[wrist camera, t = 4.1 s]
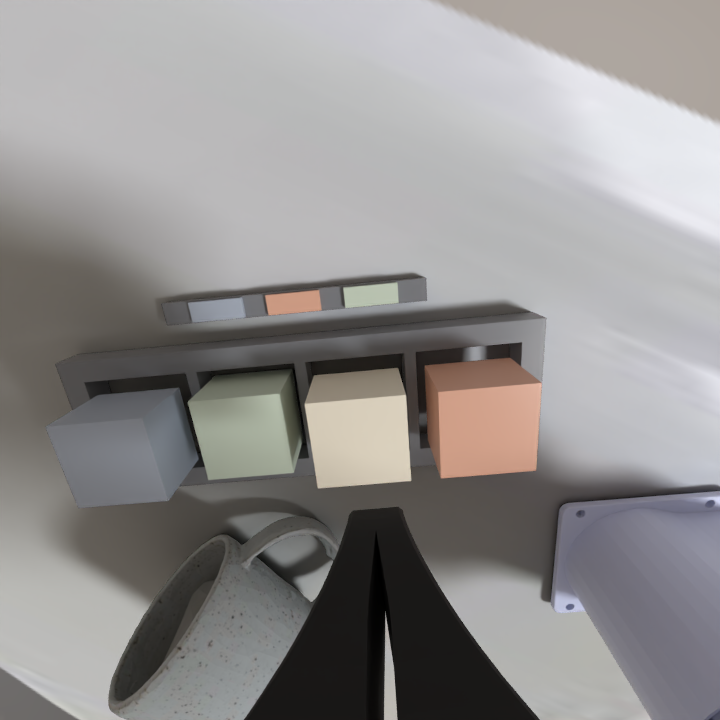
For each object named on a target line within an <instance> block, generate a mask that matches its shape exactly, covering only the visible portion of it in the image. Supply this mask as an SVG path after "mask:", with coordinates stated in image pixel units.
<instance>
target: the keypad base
mask: <svg viewBox="0 0 720 720" xmlns="http://www.w3.org/2000/svg"><path fill="white" fill-rule="evenodd" d="M545 332H546V318H545V317H543V316H540V315H538V314H536V313H533V312H526V313H515V314H505V315H494V316H483V317H473V318H462V319H452V320H441V321H430V322H420V323H409V324H398V325H388V326H377V327H366V328H356V329H345V330H334V331H324V332H313V333H302V334H292V335H281V336H271V337H260V338H249V339H239V340H228V341H217V342H207V343H196V344H185V345H175V346H164V347H153V348H143V349H132V350H121V351H111V352H100V353H90V354H79V355H76V356H73V357H71V358H68V359H66V360H63V361H61V362H59V363H56V364H55V365H56V367H57V370H58V373H59V375H60V378H61V381H62V383H63V386H64V389H65V391H66V394H67V397H68V399H69V402H70V404H71V407H72V410H74V409H76V408H77V407H79V406H81V405H82V404H84V403H86V402H87V401H89V400H91V399H92V398H94V397H95V396H97V395H103V394H111V391H110V388H109V385H108V382H107V380H116V379H127V378H138V377H149V376H160V375H171V374H182V373H186V377H187V381H188V385H189V388H190V392H191V396H192V397H193V396H194V395H195V394H196V393H198V392H199V391H200V390H201V389H202V388H203V387H204V386H205V385H206V384H207V383H208V382H209V381H210V380H211V379H212V376H211V372H210V371H214V370H225V369H236V368H247V367H258V366H269V365H280V364H291V363H294V366H295V372H296V378H297V385H298V391H299V397H300V403H301V410H302V416H303V422H304V428H305V434H306V441H307V444H302V445H301V449H300V452H299V456H298V459H297V463H296V467H295V470H294V473H287V474H275V475H263V476H251V477H239V478H227V479H215V480H208V476H207V472H206V469H205V465H204V461H203V457H202V454H201V453H197V455H198V461H197V462H196V464H195V465H194V466H193V468H192V469H191V470H190V472H189V473H188V475H187V476H186V477H185V479H184V480H183V481H182V483H181V484H180V486H189V485H201V484H213V483H225V482H238V481H250V480H262V479H274V478H286V477H298V476H310V475H316V473H315V467H314V461H313V454H312V448H311V441H310V435H309V429H308V422H307V416H306V410H305V401H306V398H307V395H308V392H309V389H310V386H311V383H312V380H313V377H312V370H311V363H310V362H312V361H323V360H334V359H345V358H356V357H367V356H378V355H389V354H400V353H402V368H403V384H404V390H405V393H406V403H407V420H408V436H409V452H410V467H418V466H430V465H436V462H435V459H434V457H433V454H432V451H431V448H430V445H429V442H428V433H427V434H420V432H419V412H418V392H417V372H416V352H421V351H432V350H443V349H454V348H465V347H476V346H487V345H498V344H509V343H510V348H509V358H511V359H512V360H514V361H515V362H516V363H517V364H519V365H520V366H521V367H522V368H524V369H525V370H526V371H527V372H529V373H530V374H531V375H533V376H534V377H535V378H536V379H538V380H539V381H540V382H541V383H542V377H543V362H544V347H545ZM541 393H542V388H541ZM540 408H541V403H540ZM539 423H540V418H539ZM538 438H539V434H538ZM537 453H538V449H537Z"/></svg>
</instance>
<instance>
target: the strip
mask: <svg viewBox="0 0 720 720" xmlns="http://www.w3.org/2000/svg"><path fill="white" fill-rule="evenodd" d="M417 301H427V289H426V278H425V277H420V278H409V279H399V280H389V281H378V282H368V283H358V284H348V285H337V286H327V287H317V288H307V289H296V290H286V291H276V292H265V293H255V294H245V295H235V296H224V297H214V298H204V299H193V300H183V301H173V302H166V303H163V304H162V308H163V312H164V315H165V319H166V323H167V325H176V324H187V323H197V322H208V321H218V320H229V319H239V318H250V317H260V316H271V315H281V314H292V313H302V312H313V311H323V310H334V309H344V308H354V307H365V306H375V305H386V304H396V303H407V302H417Z"/></svg>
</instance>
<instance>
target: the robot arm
mask: <svg viewBox="0 0 720 720" xmlns="http://www.w3.org/2000/svg"><path fill="white" fill-rule="evenodd" d="M580 510H581V511H580ZM578 511H580V512H578ZM577 512H578V513H577ZM551 606H552V608H553V609H554V611H555V612H558V613H566V612H580V611H586V612H587V614H588V616H589V617H590V619H591V621H592V622H593V624H594V626H595V627H596V629H597V630H598V632H599V634H600V635H601V637H602V639H603V640H604V642H605V644H606V645H607V647H608V649H609V650H610V652H611V653H612V655H613V657H614V658H615V660H616V662H617V663H618V665H619V667H620V668H621V670H622V672H623V673H624V675H625V677H626V678H627V680H628V681H629V683H630V685H631V686H632V688H633V690H634V691H635V693H636V695H637V696H638V698H639V700H640V701H641V703H642V705H643V706H644V708H645V709H646V711H647V713H648V714H649V716H650V718H651V719H652V720H720V491H714V492H701V493H689V494H676V495H663V496H651V497H638V498H626V499H613V500H600V501H588V502H575V503H567V504H564V505H562V507H561V508H560V510H559V519H558V529H557V540H556V551H555V562H554V573H553V583H552V594H551ZM385 611H386V618H387V624H388V631H389V637H390V644H391V650H392V657H393V664H394V672H395V687H396V702H397V717H398V720H539V718H538V717H537V716H536V715H535V714H534V712H533V711H532V710H531V709H530V708H529V707H528V705H527V704H526V703H525V702H524V701H523V700H522V698H521V697H520V696H519V695H518V694H517V692H516V691H515V690H514V689H513V688H512V687H511V685H510V684H509V683H508V682H507V681H506V679H505V678H504V677H503V676H502V675H501V673H500V672H499V671H498V669H497V668H496V667H495V665H494V664H493V663H492V662H491V660H490V659H489V658H488V656H487V655H486V654H485V653H484V651H483V650H482V649H481V647H480V646H479V645H478V643H477V642H476V640H475V639H474V638H473V636H472V635H471V634H470V632H469V631H468V629H467V628H466V627H465V625H464V624H463V622H462V621H461V619H460V618H459V616H458V615H457V614H456V612H455V611H454V609H453V608H452V606H451V604H450V603H449V601H448V600H447V598H446V597H445V595H444V593H443V592H442V590H441V589H440V587H439V585H438V584H437V582H436V580H435V579H434V577H433V575H432V573H431V572H430V570H429V568H428V566H427V565H426V563H425V561H424V559H423V557H422V556H421V554H420V552H419V550H418V548H417V546H416V544H415V541H414V539H413V537H412V535H411V533H410V531H409V528H408V526H407V523H406V520H405V517H404V514H403V510H402V509H400V508H399V507H392V508H380V509H368V510H356V511H352V512H351V514H350V515H349V519H348V523H347V526H346V529H345V533H344V536H343V538H342V541H341V544H340V547H339V549H338V552H337V554H336V557H335V559H334V562H333V564H332V566H331V569H330V571H329V573H328V576H327V578H326V580H325V582H324V585H323V587H322V589H321V591H320V593H319V595H318V597H317V599H316V601H315V603H314V605H313V607H312V609H311V611H310V613H309V615H308V617H307V619H306V621H305V622H304V624H303V626H302V628H301V630H300V632H299V633H298V635H297V637H296V639H295V641H294V642H293V644H292V646H291V647H290V649H289V651H288V652H287V654H286V656H285V658H284V659H283V661H282V662H281V664H280V666H279V667H278V669H277V670H276V672H275V673H274V675H273V677H272V678H271V680H270V681H269V683H268V684H267V686H266V688H265V689H264V691H263V692H262V694H261V695H260V697H259V698H258V700H257V701H256V703H255V704H254V706H253V707H252V709H251V710H250V712H249V713H248V714H247V716H246V717H245V719H244V720H384V672H385Z"/></svg>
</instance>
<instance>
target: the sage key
mask: <svg viewBox="0 0 720 720" xmlns="http://www.w3.org/2000/svg"><path fill="white" fill-rule="evenodd" d="M188 405H189V409H190V412H191V416H192V420H193V424H194V427H195V431H196V435H197V439H198V442H199V446H200V450H201V454H202V457H203V461H204V465H205V469H206V472H207V476H208V480H215V479H227V478H239V477H251V476H263V475H275V474H287V473H294V470H295V467H296V463H297V459H298V456H299V452H300V449H301V445H302V441H303V431H302V425H301V419H300V413H299V407H298V401H297V395H296V389H295V382H294V376H293V370H292V369H284V370H273V371H262V372H251V373H240V374H229V375H218V376H214V377H213V378H212V379H211V380H210V381H209V382H208V383H207V384H206V385H205V386H204V387H203V388H202V389H201V390H200V391H199V392H198V393H196V394H195V395H194V396H193V397H192V398H191V399H190V400H189V401H188Z"/></svg>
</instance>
